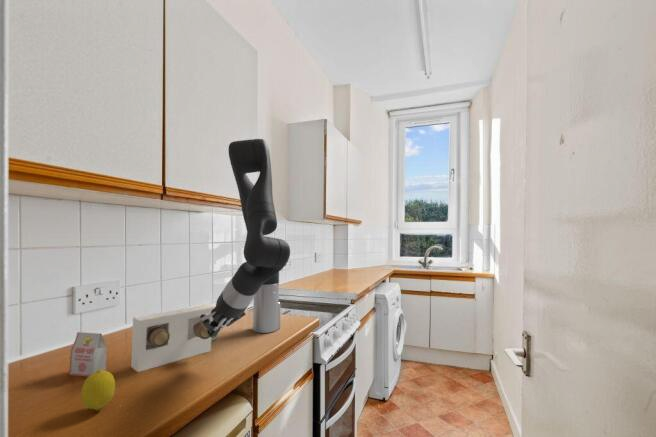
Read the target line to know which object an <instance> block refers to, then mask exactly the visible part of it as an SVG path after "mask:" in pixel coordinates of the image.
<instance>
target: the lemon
mask: <svg viewBox="0 0 656 437" xmlns="http://www.w3.org/2000/svg"><path fill="white" fill-rule="evenodd" d="M115 392H116V380H115V377H114V375H113V374H112V373H111V372H110V371H108V370H106V371H104V370H102V369H99V370H97V372H94V373H93V374H91V375H90V376H89V377H87V378H86V379H85V381H84V383H83V385H82V388H81V396H80V397H81V401H82V405H84V407H85V408H87V409H91V410H95V411H97V412H98V411H100V410H101V408H103V407H104V406H106V405H107V404H109V402H111V400H112V399H113V397H114V394H115Z"/></svg>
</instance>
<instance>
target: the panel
mask: <svg viewBox="0 0 656 437" xmlns="http://www.w3.org/2000/svg"><path fill="white" fill-rule="evenodd" d="M212 308H213V307H212V306H209V305H205V304H203V305H197V306H191V307H185V308H177V309H173V310H167V311H162V312H155V313H150V314H144V315H143V314H142V315H138V316H133V317H132V337H131V358H130V363H131V364H130V367H131V368H132V369H133V370H134V371H135V372H137V373H140V372H143V371H147V370H151V369H153V368H157V367H161V366H165V365H167V364H171V363H175V362H179V361H182V360H184V359H188V358H191V357H194V356H198V355H201V354H205V353H208V352H211V351H212V340H211V337H209V338H208V339H201V338H199V337H197V336H196V335H195V334H194V330H193V326H194V324H196V323H198V322H200V321H202V320H201V317H200V316H201V315H202V314H205V315H209V314H210V313H211V311H212ZM211 321H212V319H211ZM211 321H210V322H211ZM156 327H161V328H163V329H165V330H167V331H168V332H169V334H170V337H169V340H168V342H167V343H166V344H165V345H164V346H161V347H156V346H154V345H152V344H151V343H149V341H148V333H149V331H150V330H152V329H154V328H156Z"/></svg>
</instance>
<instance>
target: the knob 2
mask: <svg viewBox="0 0 656 437" xmlns="http://www.w3.org/2000/svg"><path fill="white" fill-rule="evenodd" d="M193 330H194V334H195V335H196V336H197V337H199V338H201V339H208V338H209V337H210V336H209V335H208V332H207V330H208V329H207V328H206V327H205V326H204V325H203V323H202V321H200V322H198V323H196V324H194V326H193Z"/></svg>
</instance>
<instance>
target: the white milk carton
mask: <svg viewBox="0 0 656 437" xmlns="http://www.w3.org/2000/svg"><path fill="white" fill-rule="evenodd" d="M107 348H108V347H107V345H106V343H105V340H104V338H103V334H102V333H98V332H83V331H77V332H76V336H75V339H74V341H73V344H72V346H71V349H70V355H69V356H70V357H69V373H68V374H69V376H77V377H79V376H80V377H87V378H88V377H89V376H90V375H91V374H93V373H94V372H97V370H99V369H102V370H104V371H107V353H108V352H107V351H108V350H107Z"/></svg>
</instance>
